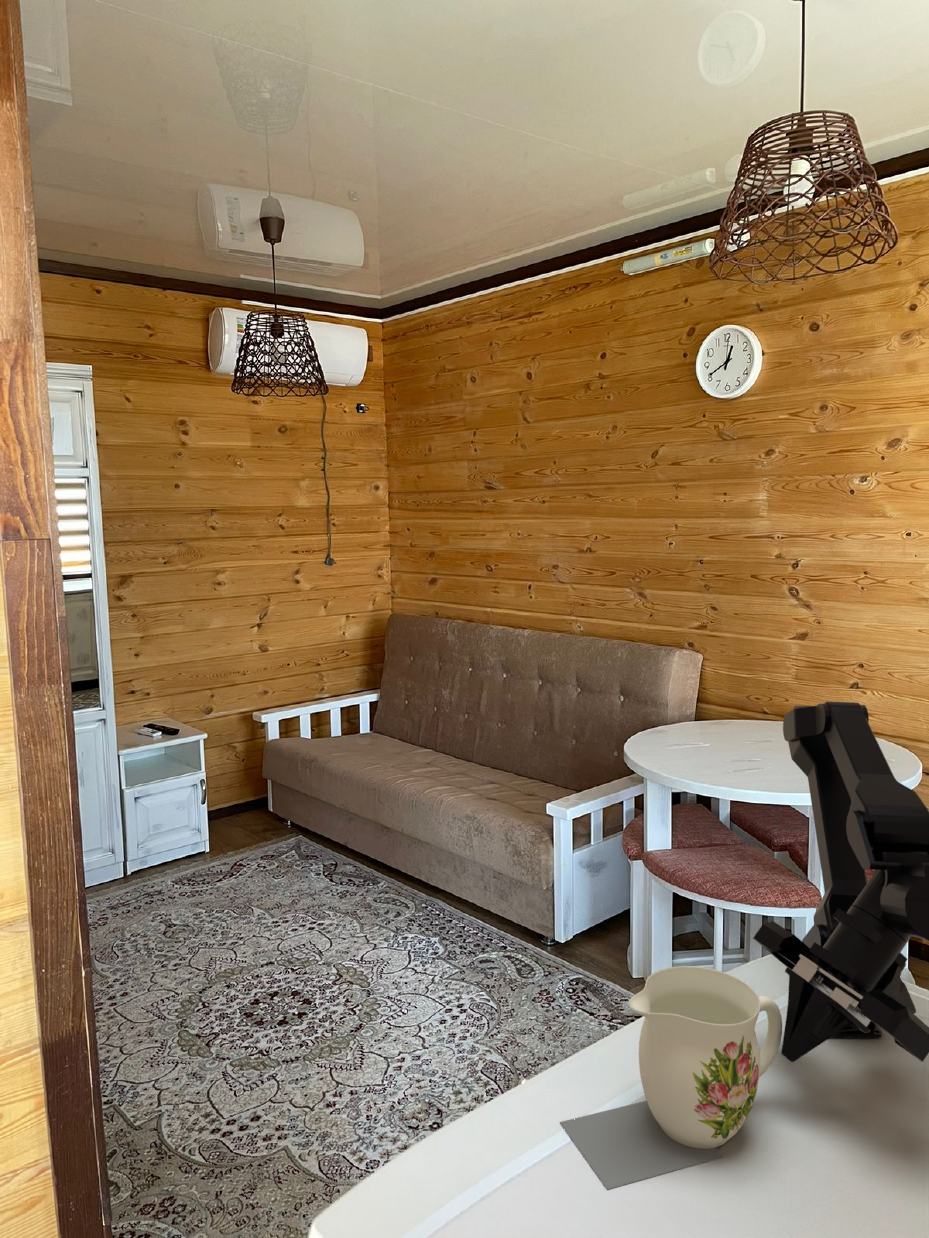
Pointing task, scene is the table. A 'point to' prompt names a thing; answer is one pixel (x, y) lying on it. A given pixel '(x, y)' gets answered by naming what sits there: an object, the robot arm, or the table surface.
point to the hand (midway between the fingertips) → (786, 1058)
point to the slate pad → (631, 1146)
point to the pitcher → (702, 1051)
